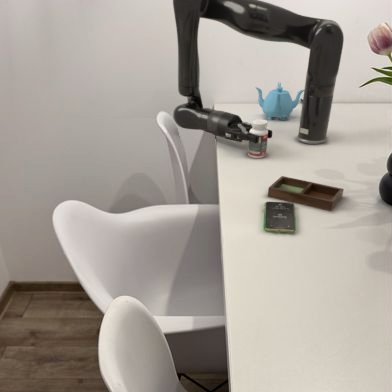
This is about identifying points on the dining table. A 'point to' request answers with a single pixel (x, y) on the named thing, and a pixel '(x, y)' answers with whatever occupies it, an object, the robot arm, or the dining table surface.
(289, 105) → the teapot
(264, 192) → the dining table surface
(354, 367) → the dining table surface
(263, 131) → the pill bottle
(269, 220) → the smartphone
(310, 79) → the robot arm
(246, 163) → the dining table surface
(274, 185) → the tray
